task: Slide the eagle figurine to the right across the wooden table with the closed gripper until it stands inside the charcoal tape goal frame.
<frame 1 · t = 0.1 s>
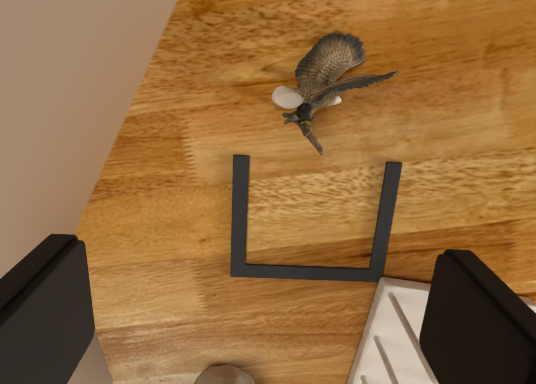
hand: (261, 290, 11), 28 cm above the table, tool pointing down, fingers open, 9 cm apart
eagle figurine: (325, 84, 37), on the table
file sorter: (419, 371, 48), on the table, touching goal frame
goal frame: (312, 215, 41), on the table
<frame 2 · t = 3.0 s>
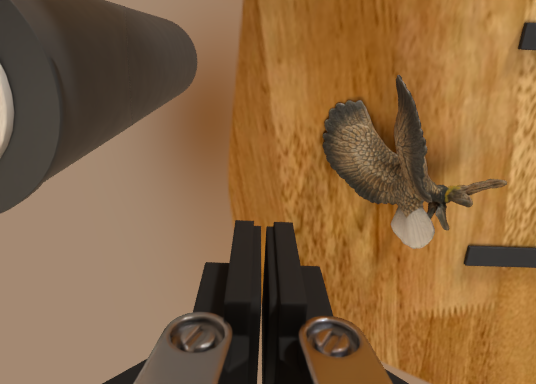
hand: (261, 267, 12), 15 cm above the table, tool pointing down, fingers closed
eagle figurine: (387, 150, 27), on the table
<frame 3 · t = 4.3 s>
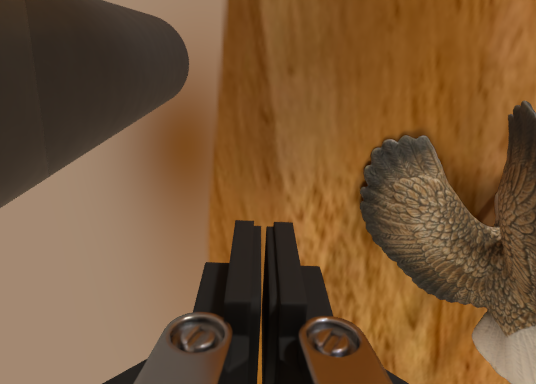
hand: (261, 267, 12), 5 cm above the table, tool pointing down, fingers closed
eagle figurine: (460, 211, 17), on the table
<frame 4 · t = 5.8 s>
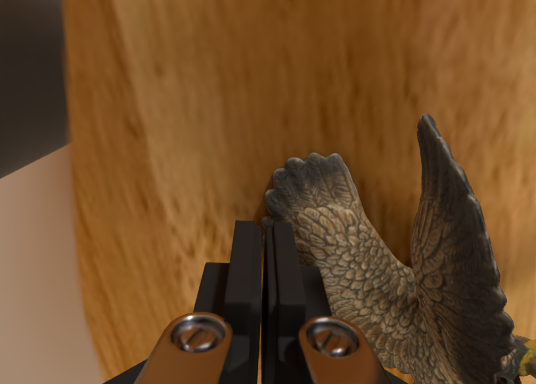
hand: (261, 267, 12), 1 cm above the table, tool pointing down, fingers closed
eagle figurine: (393, 246, 13), on the table, touching gripper
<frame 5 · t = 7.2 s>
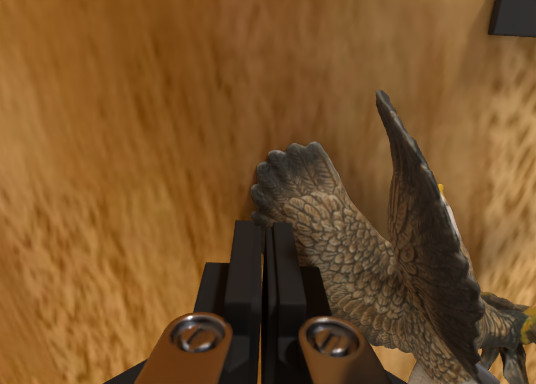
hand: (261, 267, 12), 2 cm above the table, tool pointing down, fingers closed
eagle figurine: (386, 227, 13), on the table, touching gripper
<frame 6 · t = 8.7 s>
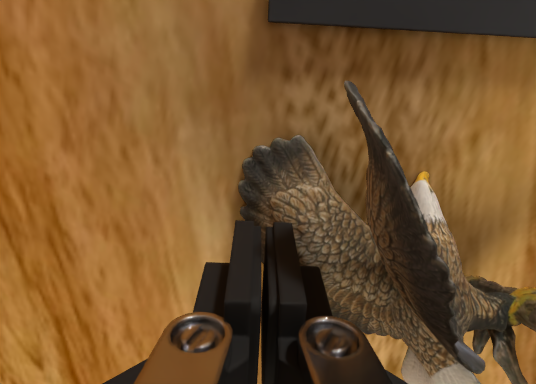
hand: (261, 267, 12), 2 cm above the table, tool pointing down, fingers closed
eagle figurine: (374, 217, 14), on the table, touching gripper
goal frame: (431, 245, 14), on the table
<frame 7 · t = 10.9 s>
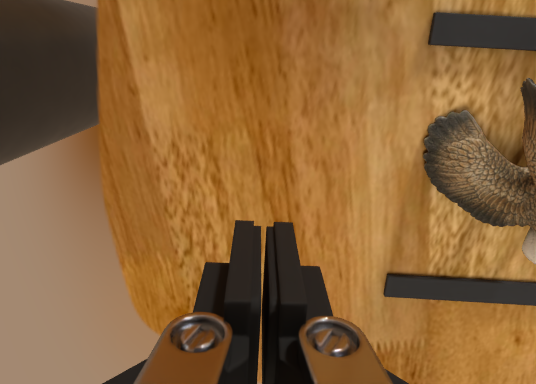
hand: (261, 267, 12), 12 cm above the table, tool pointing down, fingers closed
eagle figurine: (501, 161, 23), on the table
goal frame: (510, 176, 23), on the table
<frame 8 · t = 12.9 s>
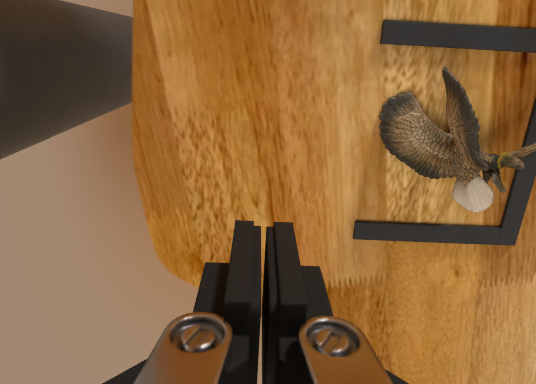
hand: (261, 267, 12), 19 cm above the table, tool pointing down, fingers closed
eagle figurine: (437, 131, 30), on the table
goal frame: (444, 142, 30), on the table
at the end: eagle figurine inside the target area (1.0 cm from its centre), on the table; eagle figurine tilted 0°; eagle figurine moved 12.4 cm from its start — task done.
